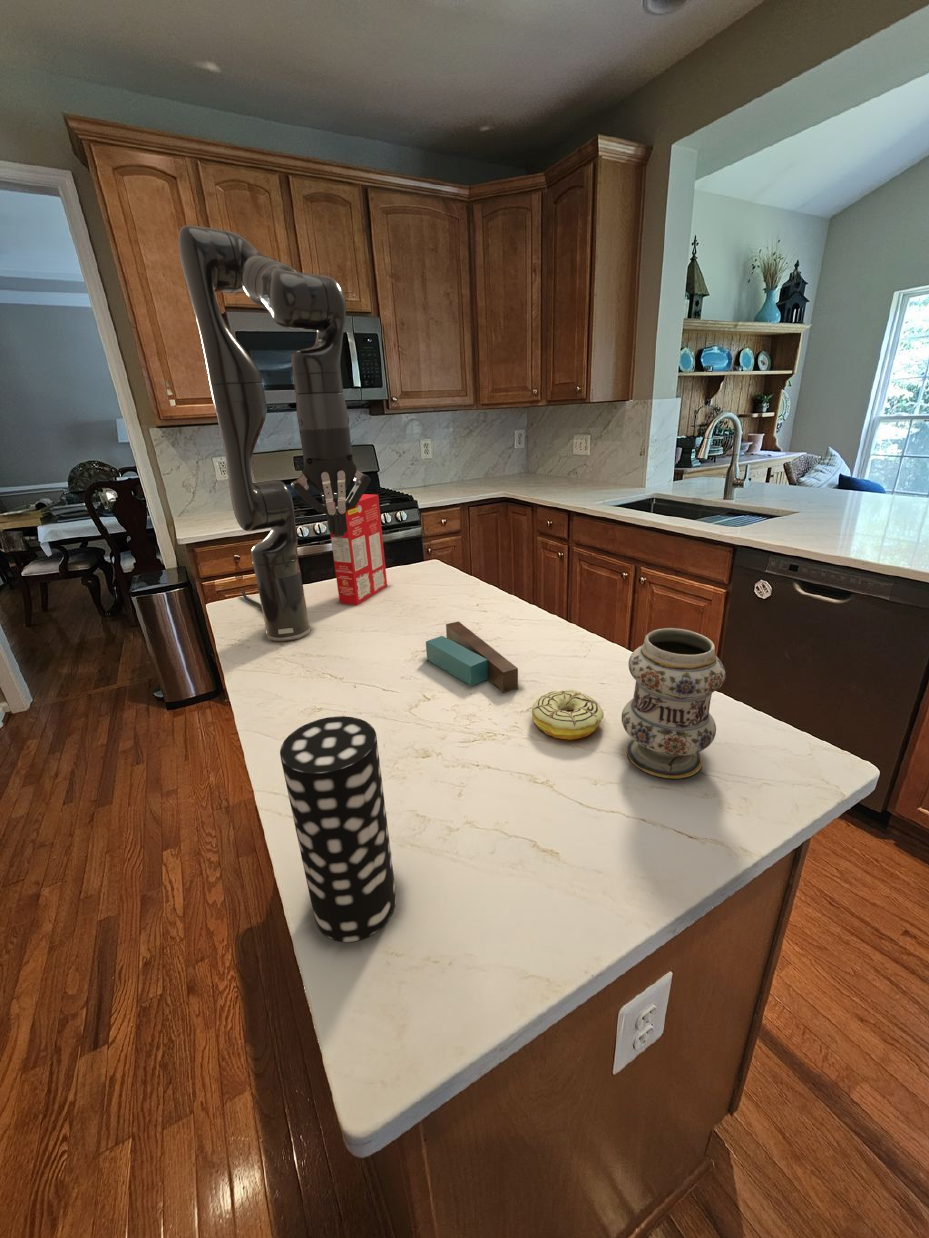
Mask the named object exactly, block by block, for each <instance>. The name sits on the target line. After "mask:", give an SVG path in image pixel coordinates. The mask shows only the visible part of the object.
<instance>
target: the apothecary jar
mask: <svg viewBox="0 0 929 1238" xmlns="http://www.w3.org/2000/svg"><path fill="white" fill-rule="evenodd" d="M643 640H644V641H643V644H642V645H640V646H638V647H637V648H636V649H634V651H633V652H631V654H630V656H629V659H628V670H629V673H630V675H631V676H632V678H633V680H635V686H634V690H633V691H634V693H633V697H632V698H631V699H630V700H628V702H627V703H626V704H625V706H624V707H623V709H622V712H621V724H622V727H623V730H624V731H625V732H626V733H627V735H628V736H629V737H630V738H631V739H632V740H631V741H630V742H629V743H628V744H627V748H626V754H627V757H628V759H629V760H630V761H631V763H632V764H633V765H634V766H635V767H636V768H638V769H639V770H641V771H643V772H645V773H647V774H649V775H651V776H653V777H658V778H662V779H670V780H677V779H678V780H679V779H685V778H689V777H691V776H693V775H695V774H697V773H698V772H699V771H700V770H701V768H702V765H703V764H702V763H703V762H702V761H703V760H702V757H701V755H700V752H702V751H704V750H705V749H707V748H708V747H709V746H711V744H712V743H713V742H714V740H715V737H716V734H717V725H716V722H715V719H714V717H713V716H712V714H711V713H710V707H711V701H712V695H713V693H714V692H716V691H718V690H719V689H720V688H721V687H722V685H723V684H724V683H725V680H726V669H725V666H724V664H723V663H722V661H721V660H720V658H719V657H718V656H717V655H716V646H715V644H714V642H713V641H712V640H711V639H710V638H709V637H707V636H705V635H703V634H700V633H698V632H695V631H693V630H688V629H683V628H675V627H664V628H658V629H654V630H651V631H649V632H648V633H646V635H645V637H644V639H643Z"/></svg>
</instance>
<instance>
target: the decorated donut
mask: <svg viewBox="0 0 929 1238" xmlns="http://www.w3.org/2000/svg"><path fill="white" fill-rule="evenodd" d="M531 714H532V718H533V719H532V720H533V721H534V723H535V725H536V726H537V728H538V729H539V730H540V731H542V732H544V733H545V734H546V735H548V736H550V737H552V738H555V739H560V740H568V741H573V740H578V739H582V738H585V737H589V736H590V735H591V734H593V733H594V732H595V731H596V730H597V729H598V727H600V723H601V721H602V720H603V719H604V716H605V714H604V711H603V709H602V707H601V705H600V703H598V702H597V701H596V699H594V698H592V697H591V696H589V695H588V694H586V693H582V692H580V691H577V690H575V689H573V690H571V689H569V690H567V689H566V690H558V691H550V692H547V693H546V694H545V693H544V694H543V695H540V696H539V697H538V698H537V699H535V701H534V702H533V703H532V709H531Z"/></svg>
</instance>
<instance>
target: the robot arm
mask: <svg viewBox="0 0 929 1238" xmlns="http://www.w3.org/2000/svg"><path fill="white" fill-rule="evenodd" d="M177 239H178V240H177V241H178V242H177V243H178V244H177V245H178V254H179V259H180V264H181V267H182V268H181V269H182V272H183V276H184V280H185V283H186V287H187V291H188V295H189V298H190V301H191V305H192V309H193V312H194V316H195V320H196V323H197V328H198V331H199V335H200V340H201V344H202V349H203V355H204V360H205V365H206V371H207V374H208V375H207V376H208V381H209V387H210V392H211V398H212V402H213V406H214V410H215V414H216V417H217V422H218V427H219V432H220V436H221V440H222V445H223V450H224V456H225V463H226V471H227V478H228V486H229V492H230V500H231V506H232V511H233V514H234V517H235V519H236V522H237V524H238V525H239V527H240V528H241V529H242V530H243V531H245V532H257V531H260V530H266V529H270V532H269V533H268V535H266V537H265V538H263V539H262V540H261V541H259V542H257V544H255V545H254V546H253V547H252V548H251V550H250V554H251V562H252V565H253V566H252V567H253V572H254V575H255V581H256V586H257V590H258V591H257V592H258V596H259V601H260V603H259V602H258V601H256V600H253V599H251V598H249V597H248V596H247V594H246V590H245V589H241V594H242V597H243V598H244V600H246V601H247V602H249V603H251V604H253V605H255V606H256V607H258V608H260V609H261V611H262V615H263V621H264V626H265V630H266V631H265V633H266V638H267V639H268V640H270V641H273V642H288V641H295V640H297V639H300V638H303V637H305V636H306V635H308V634H309V633H310V632H311V625H310V620H309V614H308V608H307V603H306V602H307V601H306V596H305V590H304V583H303V577H302V571H301V566H300V561H299V560H300V559H299V553H298V543H299V542H298V533H297V525H296V516H295V515H296V514H295V507H294V502H293V497H292V495H291V491H290V489H289V488H288V486H287V485H286V484H285V482H284V481H283V480H282V481H281V480H280V479H272V480H266V481H258V482H253V478H252V462H253V461H252V458H253V455H254V450H255V447H256V445H257V442H258V440H259V438H260V436H261V433H262V430H263V428H264V425H265V422H266V419H267V413H268V406H267V405H268V404H267V400H266V395H265V387H264V383H263V378H262V374H261V371H260V369H259V368H258V366H257V364H256V363H255V361H254V360H253V359H252V357H251V356H250V354H249V353H248V351H246V349H245V348H244V346H243V345H242V344H241V343H240V341H239V340H238V339H237V337H236V336H235V335H234V334H233V332H232V330H231V329H230V327H229V326H228V324H227V322H226V321H225V319H224V316H223V315H222V312H221V309H220V307H219V304H218V302H217V298H216V295H215V293H224V294H225V293H226V294H239V293H245V294H246V296H247V297H248V299H250V301H252V302H253V303H254V304H255V305H257V306H258V307H260V308H262V309H263V310H266V311H267V312H268V313H269V314H270V316H271V318H272V320H273V321H274V322H275V323H276V324H277V325H278V326H280V327H282V328H284V329H287V330H291V331H292V330H293V331H309V332H310V331H311V332H312V331H313V332H316V337H315V342H314V344H313V346H311V347H307V348H302V349H298V350H296V351H295V352H293V353H292V355H291V357H290V362H291V363H290V364H291V370H292V378H293V386H294V392H295V401H296V402H295V404H296V405H295V406H296V408H295V409H296V417H297V425H298V431H299V437H300V443H301V451H302V457H303V465H302V469H301V473H302V474H301V475H300V476H299V477H298V478H297V479H296V480H293V481H291V482H290V486H291V488H292V489H293V490H294V491H295V492H296V493H297V494H298V495H299V496H300V497H301V498H302V499H303V500H304V501H305V502H306V503H308V505H309V506H310V507H311V508H313V510H315V511H316V512H317V513H319V514H322V513H323V514H325V515H326V522H327V529H328V532H329V534H330V533H331V534H333V536H334V537H342V536H344V533H345V532H347V522H346V512H347V511H348V510H350V509H353V508H355V507H356V505H357V503H358V502H359V500H360V498H361V497H362V495H363V494H365V492H366V490H367V488H368V486H369V485H370V483H371V482H372V478H371V477H370V476H369V475H366V474H364V473H363V472H362V471H360V470H358V466H357V464H356V462H355V461H354V457H353V449H352V448H353V447H352V441H351V440H352V439H351V433H350V418H349V413H348V407H347V403H346V398H345V394H344V385H343V384H344V383H343V377H342V369H341V368H342V367H341V359H342V349H343V338H344V332H345V324H346V319H347V318H346V317H347V303H346V302H347V301H346V298H345V294H344V291H343V289H342V286H340V284H339V282H338V281H337V280H336V279H334V278H333V277H331V276H329V275H325V274H317V273H316V274H315V273H307V272H300V271H296V270H295V269H294V267H292V266H290V265H289V264H286V263H285V262H282V261H280V260H277V259H275V258H272V257H269V256H267V255H265V254H263V253H261V252H260V251H259V250H258V249H256V247H255V246H253V244H252V243H250V242H249V241H248V240H246V239H245V238H244V237H242V236H241V235H240V234H237V233H236V232H234V231H230V230H227V229H226V230H225V229H219V228H212V227H206V226H199V225H192V224H191V225H190V224H186V225H183V226H182V227H181V228H180V230H179V232H178V238H177ZM352 481H353V483H354V485H353V487H352V489H351V490H350V492H349V494H348V496H346V495H347V494H346V490H348V489H349V486H350V485H351V483H352ZM308 482H309V483H310V484H311V486H313V488H314V489H315V490H316V491H318V492H319V493H320V497H321V500H322V503H320V502H319V501H318V500H317V499H316V498H315V497H314V496H313V495H312V494H311V493H310V492H309V489H310V485H309V484H308ZM345 499H346V501H345ZM334 502H335V507H334ZM335 510H336V513H335Z"/></svg>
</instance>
